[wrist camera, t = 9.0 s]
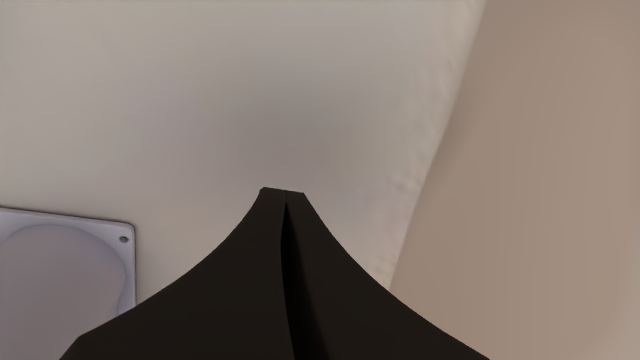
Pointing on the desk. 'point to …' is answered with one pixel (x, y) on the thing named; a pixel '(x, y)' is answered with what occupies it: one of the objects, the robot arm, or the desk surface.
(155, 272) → the desk surface
